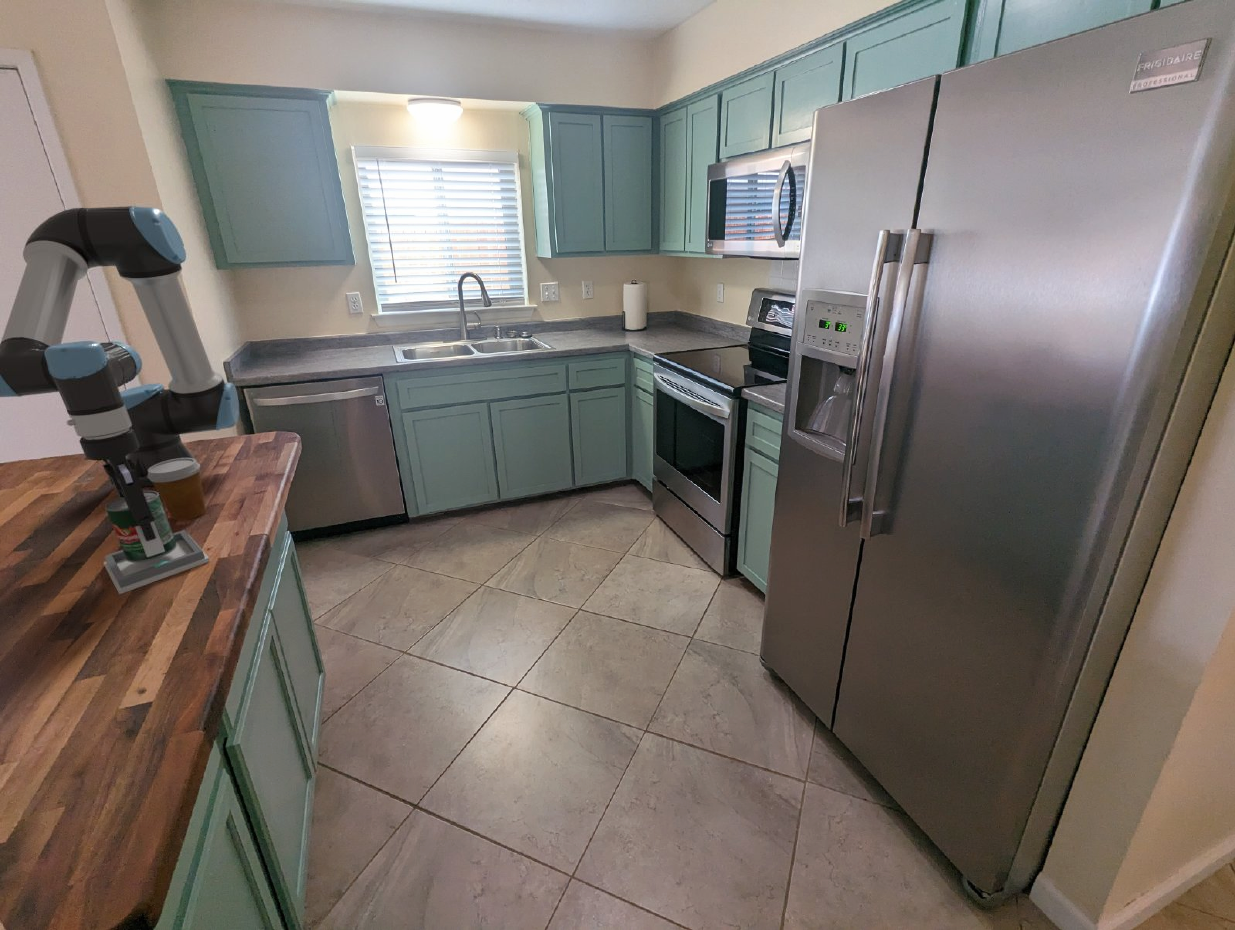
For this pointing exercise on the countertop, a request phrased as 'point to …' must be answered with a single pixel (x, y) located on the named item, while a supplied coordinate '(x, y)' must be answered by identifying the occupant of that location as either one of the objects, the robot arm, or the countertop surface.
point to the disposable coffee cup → (179, 487)
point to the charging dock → (154, 564)
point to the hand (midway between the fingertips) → (150, 545)
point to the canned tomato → (129, 535)
